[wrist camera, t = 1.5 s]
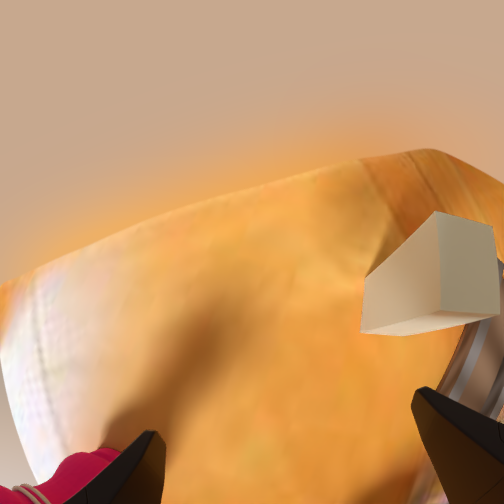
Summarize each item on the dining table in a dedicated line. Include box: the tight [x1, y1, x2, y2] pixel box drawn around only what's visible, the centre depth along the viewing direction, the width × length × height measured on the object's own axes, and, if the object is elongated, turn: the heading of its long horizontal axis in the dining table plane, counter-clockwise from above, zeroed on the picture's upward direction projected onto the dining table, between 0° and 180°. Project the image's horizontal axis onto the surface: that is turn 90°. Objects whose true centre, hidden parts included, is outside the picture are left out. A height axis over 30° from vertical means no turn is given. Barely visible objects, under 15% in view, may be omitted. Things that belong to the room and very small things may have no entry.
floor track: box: [436, 258, 504, 420], centre depth 18 cm, size 16×9×3 cm, turn 144°
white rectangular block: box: [360, 211, 500, 336], centre depth 16 cm, size 5×4×13 cm
